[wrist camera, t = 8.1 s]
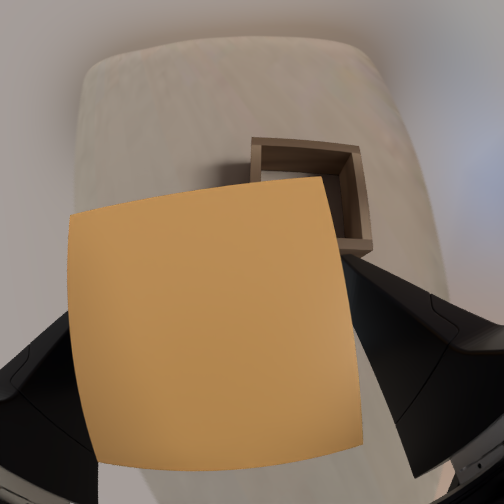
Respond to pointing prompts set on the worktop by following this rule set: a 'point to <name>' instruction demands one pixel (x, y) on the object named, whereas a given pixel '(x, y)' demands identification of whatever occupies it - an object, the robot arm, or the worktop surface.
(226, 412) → the plug
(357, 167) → the square frame
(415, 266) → the worktop surface
